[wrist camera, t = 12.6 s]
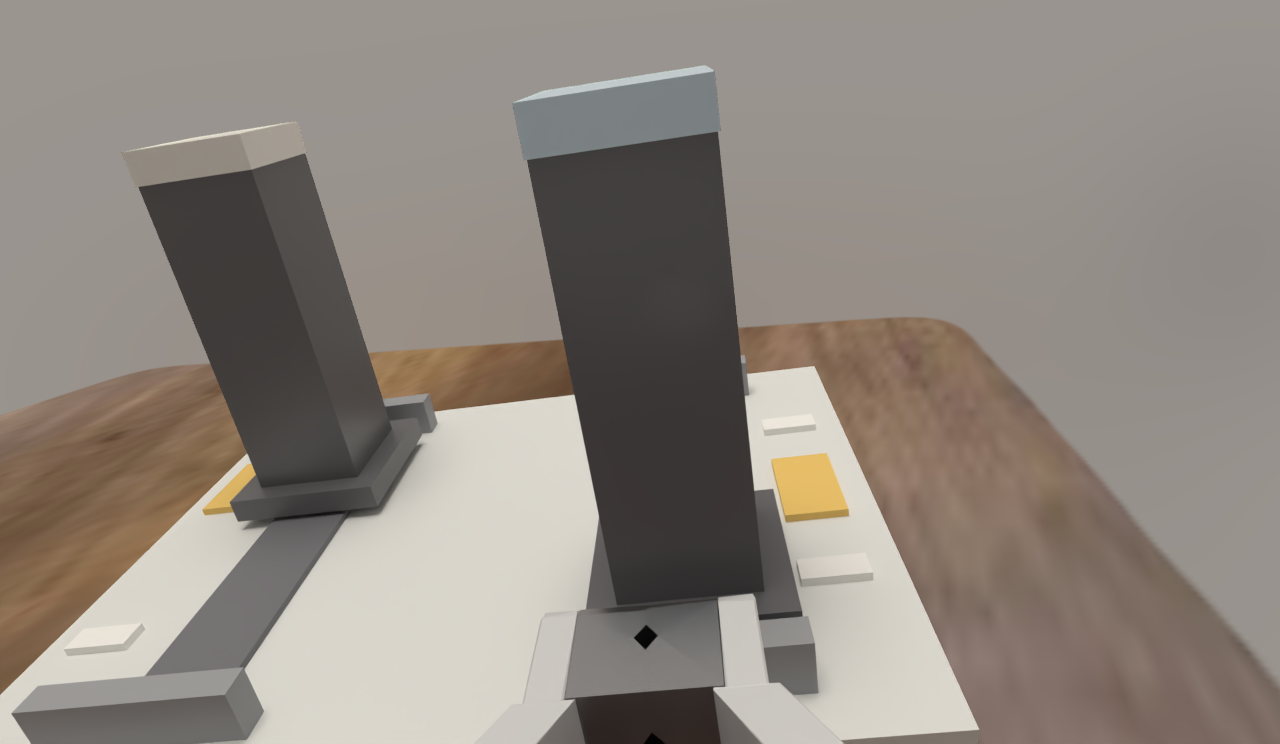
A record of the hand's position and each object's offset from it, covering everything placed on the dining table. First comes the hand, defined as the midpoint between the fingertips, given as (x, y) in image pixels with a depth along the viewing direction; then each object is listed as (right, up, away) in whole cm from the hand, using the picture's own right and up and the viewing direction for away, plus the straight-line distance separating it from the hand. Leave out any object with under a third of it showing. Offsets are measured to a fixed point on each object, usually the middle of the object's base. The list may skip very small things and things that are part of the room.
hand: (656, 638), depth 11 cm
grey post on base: (-11, 0, +17) cm, 21 cm away
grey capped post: (+1, -2, +9) cm, 9 cm away
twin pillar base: (-5, -2, +14) cm, 15 cm away
